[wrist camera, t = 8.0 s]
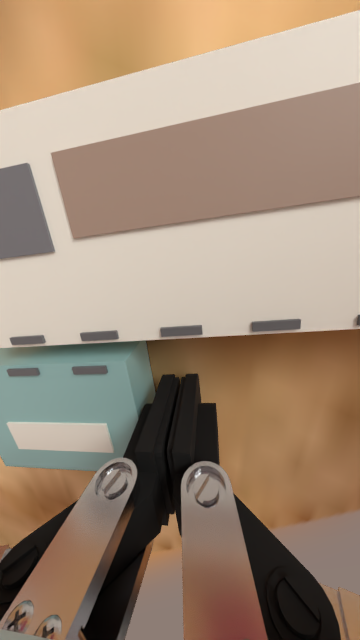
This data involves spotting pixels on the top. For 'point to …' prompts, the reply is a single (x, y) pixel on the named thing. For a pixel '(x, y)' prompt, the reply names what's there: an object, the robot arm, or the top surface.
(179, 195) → the ticket
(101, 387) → the stub
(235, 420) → the top surface
